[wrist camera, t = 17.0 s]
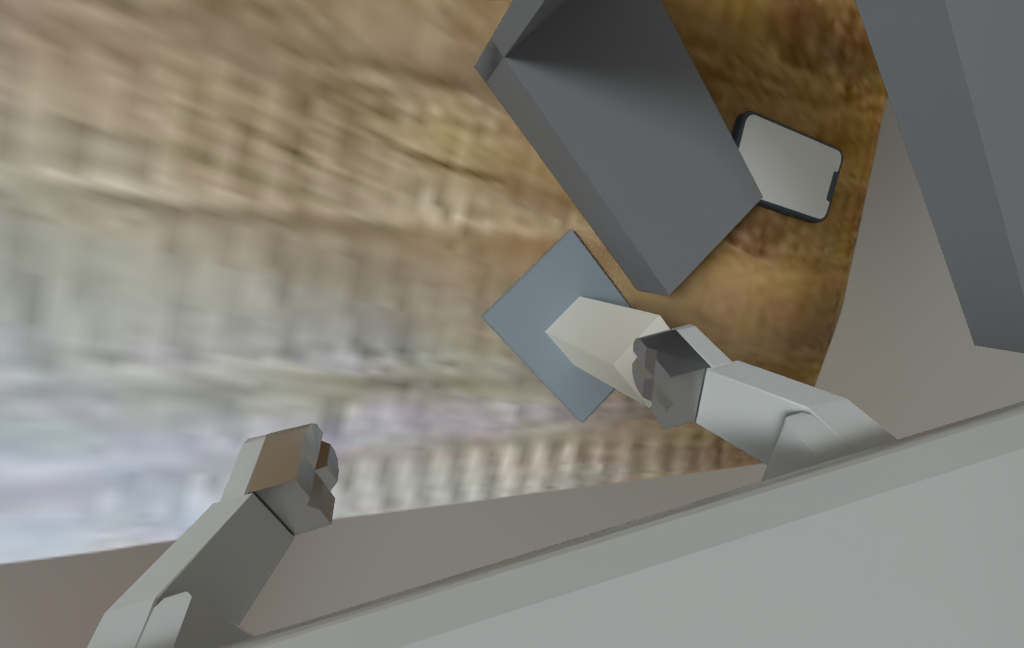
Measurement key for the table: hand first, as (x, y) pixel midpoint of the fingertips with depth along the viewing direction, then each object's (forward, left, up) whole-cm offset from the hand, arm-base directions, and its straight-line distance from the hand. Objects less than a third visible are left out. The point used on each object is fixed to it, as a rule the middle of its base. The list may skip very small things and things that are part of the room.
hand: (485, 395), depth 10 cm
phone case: (+19, +40, -28) cm, 52 cm away
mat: (+15, +9, -27) cm, 32 cm away
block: (+15, +9, -26) cm, 32 cm away
